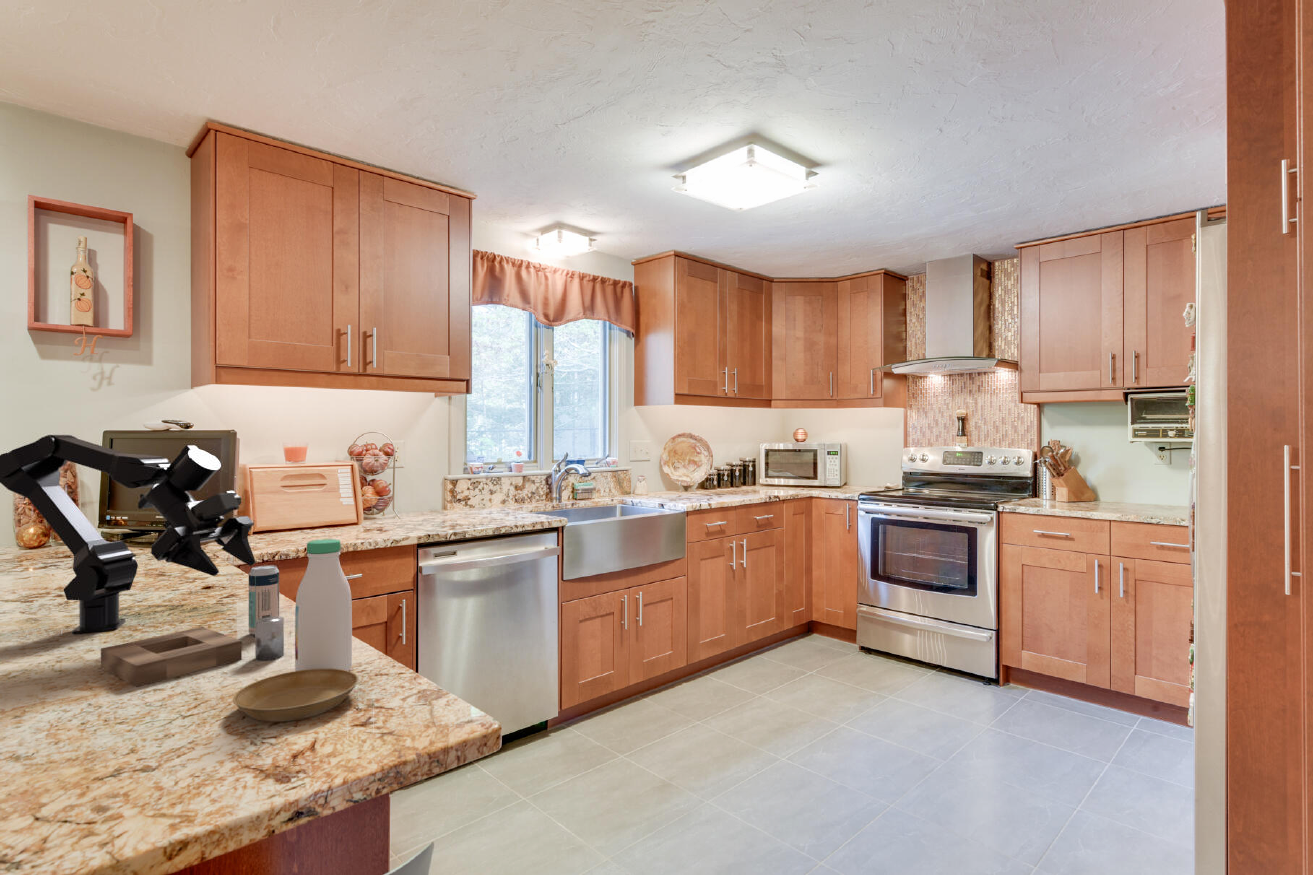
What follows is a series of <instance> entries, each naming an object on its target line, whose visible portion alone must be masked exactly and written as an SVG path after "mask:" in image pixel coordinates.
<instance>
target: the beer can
mask: <svg viewBox="0 0 1313 875" xmlns="http://www.w3.org/2000/svg"><path fill="white" fill-rule="evenodd" d="M267 617H280V570H279V569H278V567H277V565H272V564H271V565H270V564H269V565H267V564H266V565H259V566H254V567H252V568H251V569H250V571H249V573H248V633H249V635H252V636H254V637H255V621H256V620H259V619H262V618H267Z"/></svg>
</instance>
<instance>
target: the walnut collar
mask: <svg viewBox="0 0 1313 875" xmlns="http://www.w3.org/2000/svg"><path fill="white" fill-rule="evenodd" d="M242 645H243V642H242V640H241V639H238V638H235V637H232V636H229V635H227V634H224V633H221V632H219V631H215V630H212V629H209V628H206V627H205V626H200V627H196V628H191V629H186V630H182V631H177V632H176V631H175V632H172V633H168V634H163V635H159V636H153V637H149V638H144V639H139V640H135V641H130V642H125V643H120V644H117V645H116V644H115V645H112V646H105V647H101V648H100V668H101V669H102V670H104V671H106V672H108V673H109V674H111V675H113V676H115V677H118V678H120V679H121V680H122V681H125V682H126V683H129V684H131V685H132V686H134V687H140V686H144V685H148V684H152V683H155V682H159V681H163V680H168V679H171V678H175V676H176V677H179V676H183V675H187V674H191V673H195V672H198V671H202V670H206V669H210V668H214V667H218V666H220V665H225V664H229V663H233V662H236V661H240V660H243V656H242V655H243V654H242V653H243V652H242V651H243V650H242V647H243V646H242ZM213 666H214V667H213ZM194 671H195V672H194Z"/></svg>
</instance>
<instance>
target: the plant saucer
mask: <svg viewBox="0 0 1313 875" xmlns="http://www.w3.org/2000/svg"><path fill="white" fill-rule="evenodd" d="M359 679H360V678H359V676H358V674H356V673H355V672H353V671H350V670H349V671H347V670H342V669H328V668H322V669H321V668H320V669H308V670H299V671H295V670H294V671H288V672H284V673H281V674H275V675H273V676H269V677H265V678H262V679H260V680H256V681H254V682H252V683H250V684H248V685H246V686H244V687H242V688H240V689H239V690H238V691H237V692H236V693H235V694H234V695H233V697H232V702H233V704H234V705H235V706H236V707H238V709H240V710H241V711H242V712H244V713H245V715H247V716H249V717H250V718H253V719H255V720H258V721H262V722H269V723H270V722H271V723H273V722H274V723H275V722H276V723H278V722H289V721H290V722H291V721H298V720H303V719H307V718H312V717H315V716H318V715H320V714H324V713H326V712H329V711H331V710H333V709H334V708H337V706H339V705H340V704H341V703H342V702H343V701H344V700H346V698H347V697H348V696H349V695H350V694H351V693H352V692H353V690H354V689H355V688H356V685H357V684H358V683H359Z"/></svg>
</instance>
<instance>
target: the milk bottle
mask: <svg viewBox="0 0 1313 875" xmlns="http://www.w3.org/2000/svg"><path fill="white" fill-rule="evenodd" d="M341 543H342V542H341V540H340V539H331V538H329V539H328V538H327V539H326V538H325V539H315V540H310V541H308V542H307V543H306V557H307V558H308V564H307V567H306V570H305V573H304V575H303V577H302V579H301V581H300V584H299V585H298V588H297V592H296V598H295V612H294V616H295V617H294V618H295V619H294V622H295V623H294V647H295V648H294V651H295V652H294V659H295V660H294V667H295V668H294V669H295V670H294V671H299V670H308V669H320V668H321V669H322V668H328V669H342V670H347V671H350V670H351V668H352V665H353V664H352V663H353V638H352V637H353V621H352V620H353V615H352V614H353V613H352V612H353V609H352V608H353V607H352V605H353V604H352V592H351V587H350V584H349V581H348V579H347V577H346V575H345V573H344V570H343V569H342V566H341V563H340V555H341V549H342V548H341V546H342V545H341Z"/></svg>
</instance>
